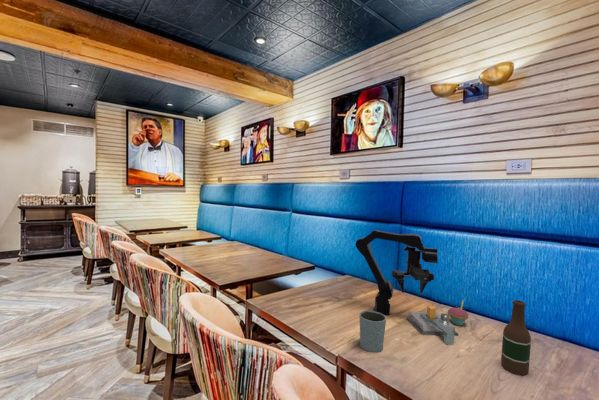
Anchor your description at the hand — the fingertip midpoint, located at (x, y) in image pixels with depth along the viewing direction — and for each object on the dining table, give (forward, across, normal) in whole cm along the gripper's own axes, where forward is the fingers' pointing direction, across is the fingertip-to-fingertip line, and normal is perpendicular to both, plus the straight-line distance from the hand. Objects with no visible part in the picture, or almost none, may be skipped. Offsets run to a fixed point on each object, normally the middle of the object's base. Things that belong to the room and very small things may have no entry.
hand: (411, 292), depth 138 cm
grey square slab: (+13, +6, -12) cm, 18 cm away
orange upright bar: (+12, +6, -8) cm, 15 cm away
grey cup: (+13, -27, -26) cm, 40 cm away
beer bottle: (+13, +20, -39) cm, 46 cm away
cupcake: (+13, +21, -4) cm, 25 cm away
